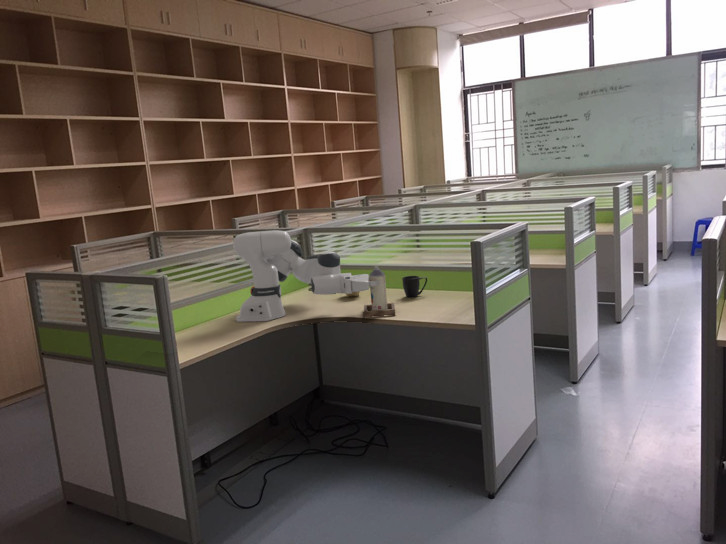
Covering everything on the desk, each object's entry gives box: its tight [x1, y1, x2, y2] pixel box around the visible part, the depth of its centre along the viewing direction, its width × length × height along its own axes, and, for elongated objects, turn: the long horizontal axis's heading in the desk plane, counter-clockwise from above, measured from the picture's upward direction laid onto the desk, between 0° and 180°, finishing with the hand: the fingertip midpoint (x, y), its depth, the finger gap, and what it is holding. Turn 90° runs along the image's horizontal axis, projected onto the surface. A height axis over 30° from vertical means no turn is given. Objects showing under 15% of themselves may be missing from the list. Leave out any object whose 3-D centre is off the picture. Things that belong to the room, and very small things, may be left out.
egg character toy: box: [344, 274, 361, 298], centre depth 308 cm, size 10×12×11 cm
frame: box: [363, 302, 396, 318], centre depth 270 cm, size 13×13×2 cm
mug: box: [401, 275, 428, 299], centre depth 297 cm, size 8×12×10 cm
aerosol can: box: [369, 265, 388, 311], centre depth 268 cm, size 7×7×20 cm
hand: (379, 280), depth 268 cm, fingers closed on aerosol can, 7 cm apart
